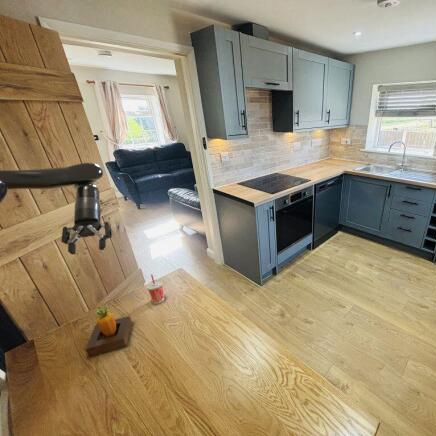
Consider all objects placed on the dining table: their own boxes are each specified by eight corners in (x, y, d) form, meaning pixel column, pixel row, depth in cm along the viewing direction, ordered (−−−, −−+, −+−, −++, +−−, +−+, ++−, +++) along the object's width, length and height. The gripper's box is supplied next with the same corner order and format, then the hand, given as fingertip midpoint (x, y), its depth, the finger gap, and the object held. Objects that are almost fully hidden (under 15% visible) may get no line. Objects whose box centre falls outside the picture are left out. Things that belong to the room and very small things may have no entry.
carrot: (118, 330, 91) (106, 300, 85) (123, 337, 88) (111, 307, 82) (103, 339, 88) (89, 308, 82) (107, 346, 85) (93, 316, 79)
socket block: (89, 357, 81) (85, 349, 80) (99, 331, 91) (95, 324, 89) (126, 346, 85) (123, 338, 84) (132, 323, 94) (129, 315, 93)
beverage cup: (151, 306, 102) (143, 281, 97) (150, 297, 107) (143, 272, 102) (166, 302, 105) (159, 276, 99) (165, 293, 110) (159, 268, 104)
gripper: (58, 209, 85) (56, 253, 80) (105, 204, 90) (106, 245, 85) (69, 217, 91) (68, 258, 87) (113, 212, 96) (114, 250, 92)
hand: (87, 251), depth 86 cm, fingers open, 8 cm apart
